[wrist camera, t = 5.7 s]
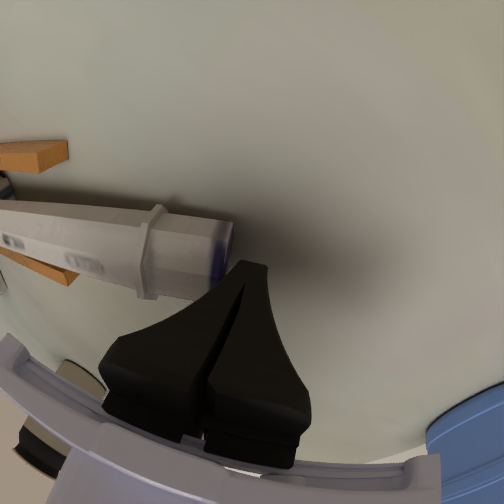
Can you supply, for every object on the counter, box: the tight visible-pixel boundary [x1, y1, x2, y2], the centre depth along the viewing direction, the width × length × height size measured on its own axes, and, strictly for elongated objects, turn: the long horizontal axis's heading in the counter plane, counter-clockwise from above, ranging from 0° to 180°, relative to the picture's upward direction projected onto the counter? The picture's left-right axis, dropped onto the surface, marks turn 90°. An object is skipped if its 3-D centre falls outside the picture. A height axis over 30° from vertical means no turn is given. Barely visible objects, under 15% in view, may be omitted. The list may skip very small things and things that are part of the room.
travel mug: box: [12, 361, 105, 481], centre depth 25 cm, size 8×8×18 cm
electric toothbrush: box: [0, 176, 234, 301], centre depth 14 cm, size 5×7×25 cm
